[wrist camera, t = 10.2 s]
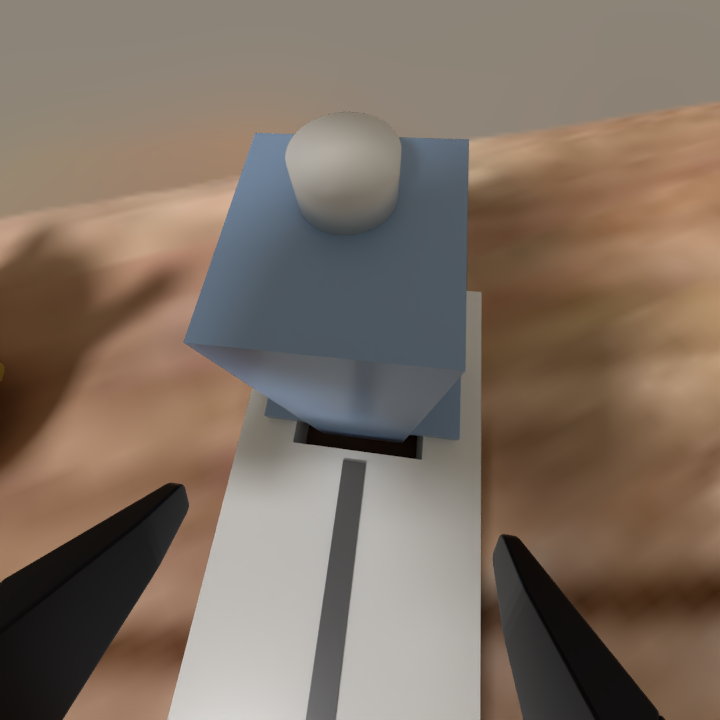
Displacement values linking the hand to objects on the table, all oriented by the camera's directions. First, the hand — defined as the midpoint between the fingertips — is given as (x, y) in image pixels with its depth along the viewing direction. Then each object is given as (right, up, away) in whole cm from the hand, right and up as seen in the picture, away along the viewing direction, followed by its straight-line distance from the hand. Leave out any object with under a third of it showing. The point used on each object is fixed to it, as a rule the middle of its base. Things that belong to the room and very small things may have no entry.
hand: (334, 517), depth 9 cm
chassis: (+1, -2, +7) cm, 7 cm away
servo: (+1, +2, +8) cm, 9 cm away
